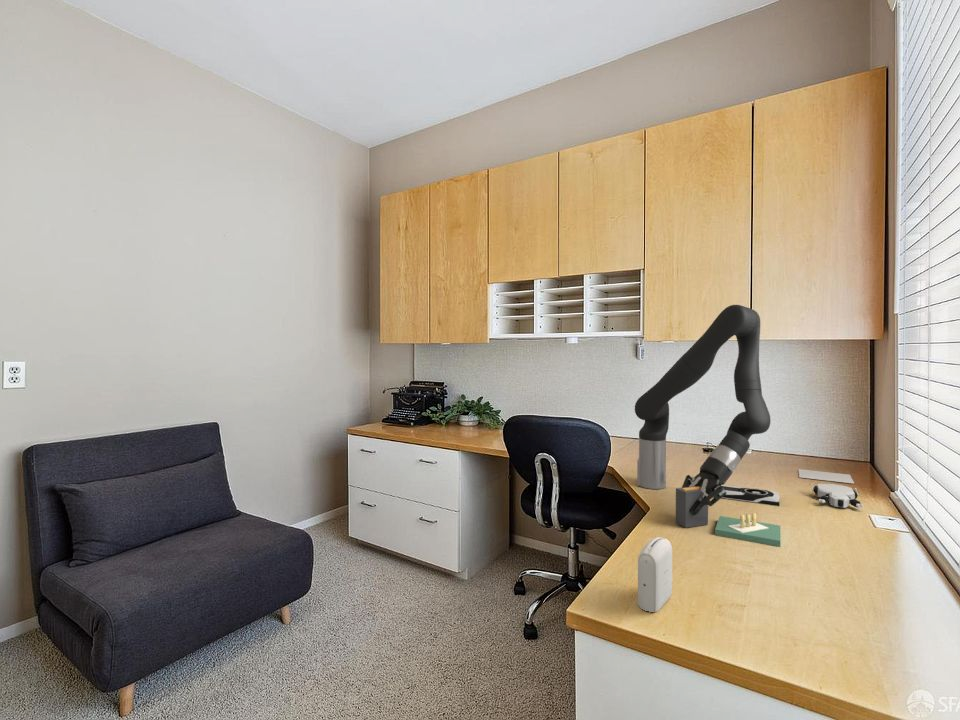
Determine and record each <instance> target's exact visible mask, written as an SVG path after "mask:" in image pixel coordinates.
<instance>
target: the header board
mask: <svg viewBox="0 0 960 720" xmlns="http://www.w3.org/2000/svg"><path fill="white" fill-rule="evenodd" d="M739 516H740V517H739V518H735V517H729V516H724V515H719V517H718V520H717V523H716V525H715V526H716V527H715V528H714V535H715V536H719V537H724V538H725V537H726V538H730V539H736V540H741V541H747V542H753V543H758V544H764V545H769V546H775V547H779V548H781V525H780V524H774V523H773V524H772V523H767V522H761V521H757V514H756V513H753V512H752V513H751V514H748V513H746V514H745V515H744V514H740V515H739Z"/></svg>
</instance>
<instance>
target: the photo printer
mask: <svg viewBox="0 0 960 720" xmlns="http://www.w3.org/2000/svg"><path fill="white" fill-rule="evenodd" d="M672 590H673V546H672V544H671V542H670V541H669V540H668V539H667V538H663V537H661V536H659V537H658V536H657V537H653V538H652V539H650V540H649V541H648V542H647V543H645V545H644V546H643V547H642V549H640V552H639V554H638V557H637V605H638V607H639V608H640V609H641V610H642V609H643V610H642V611H644V610H645V611H644V612H646V611H649V612H648V613H650V612H654V613H657V612H659V610H660V609H661V608H662V607H664V605H665V604H666V602H668V599H670V597H671V596H672V592H673V591H672Z"/></svg>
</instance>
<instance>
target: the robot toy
mask: <svg viewBox="0 0 960 720" xmlns="http://www.w3.org/2000/svg"><path fill="white" fill-rule="evenodd" d="M811 488H812V489H811V491H812V492H813V493H814V494H815V495H817V497H818V498H819V499H818V500H817V501H818V502H819V503H821V504H827V503H828V504H829V505H830V506H831V507H833V508H834V507H835V508H839V509H840V508H841V509H846V508H848V507H850V505H851V506H853V507H855V508H864V504H863V503H861V501H859V500H857V498H858V497H859V496H860V495H859V493H858V489H857V487H855V488H854V489H853V488H852V487H850V486H846V485H841V484H835V483H834V484H833V483H818V484H816V485H814V487H813V483H811Z"/></svg>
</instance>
